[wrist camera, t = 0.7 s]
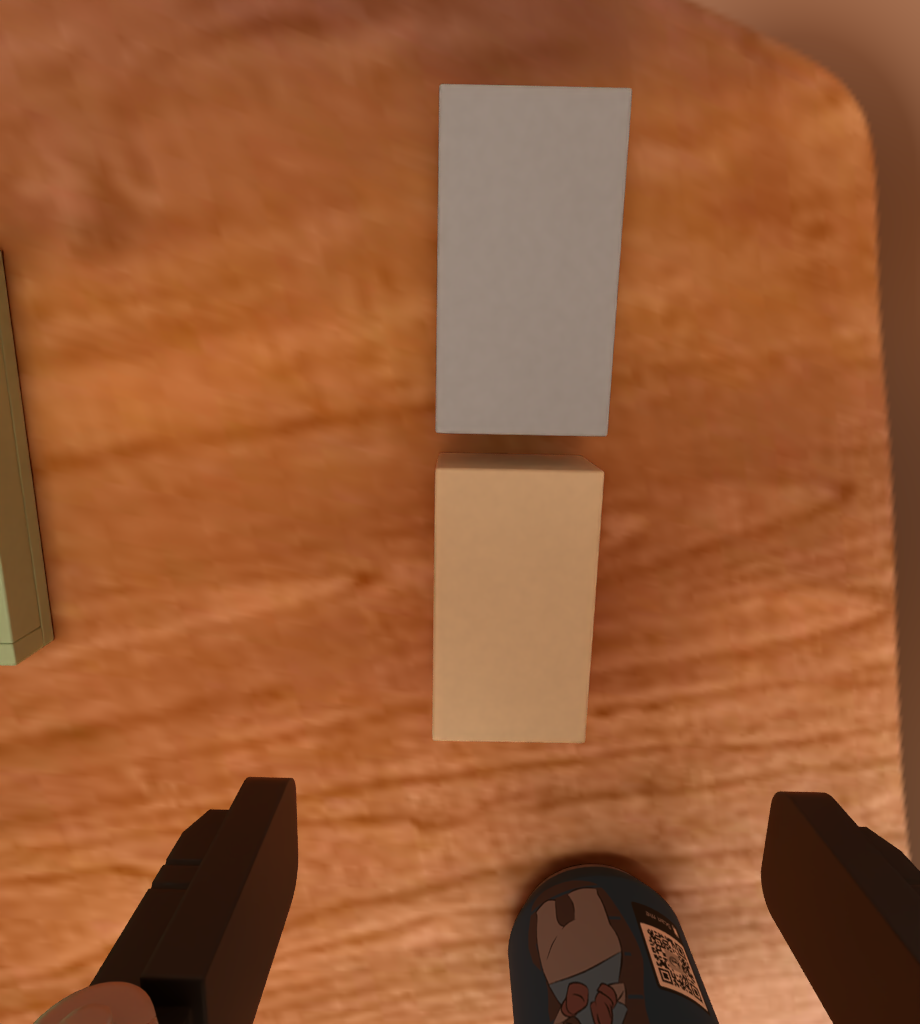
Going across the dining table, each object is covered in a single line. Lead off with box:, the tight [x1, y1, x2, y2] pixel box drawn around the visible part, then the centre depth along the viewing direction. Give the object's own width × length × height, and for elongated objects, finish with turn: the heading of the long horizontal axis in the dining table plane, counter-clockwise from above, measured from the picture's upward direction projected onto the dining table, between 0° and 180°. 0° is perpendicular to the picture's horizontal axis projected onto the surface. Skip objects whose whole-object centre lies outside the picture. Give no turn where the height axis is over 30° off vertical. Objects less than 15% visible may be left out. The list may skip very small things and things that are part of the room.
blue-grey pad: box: [435, 84, 632, 436], centre depth 19 cm, size 9×5×4 cm, turn 179°
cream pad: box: [432, 453, 604, 743], centre depth 21 cm, size 9×5×4 cm, turn 179°
